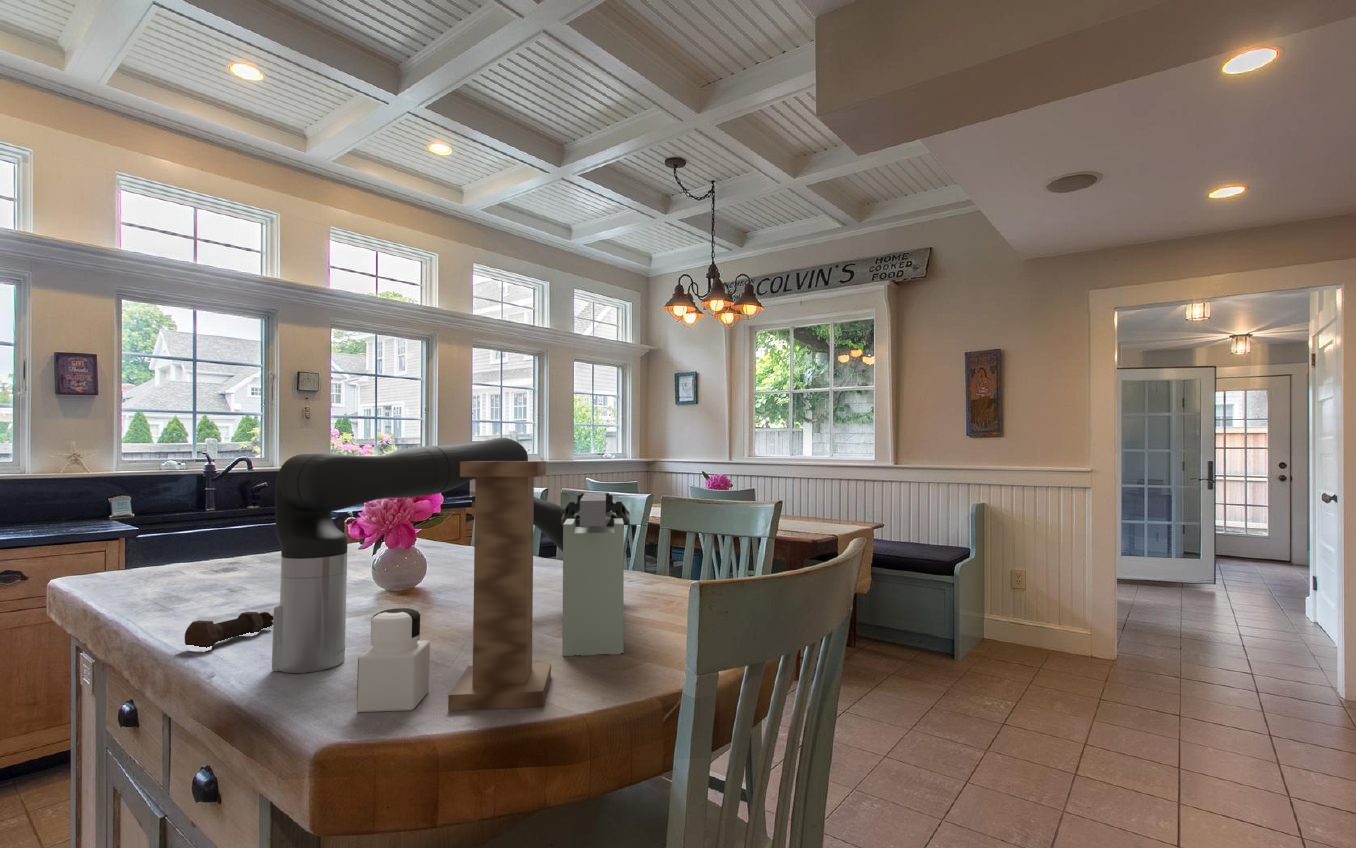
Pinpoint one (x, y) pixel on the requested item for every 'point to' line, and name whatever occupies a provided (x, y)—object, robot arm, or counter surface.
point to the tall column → (502, 591)
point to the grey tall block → (593, 589)
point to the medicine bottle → (393, 663)
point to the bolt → (226, 628)
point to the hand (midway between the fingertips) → (595, 497)
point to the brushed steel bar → (593, 509)
